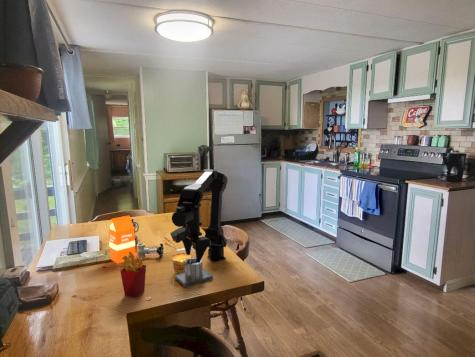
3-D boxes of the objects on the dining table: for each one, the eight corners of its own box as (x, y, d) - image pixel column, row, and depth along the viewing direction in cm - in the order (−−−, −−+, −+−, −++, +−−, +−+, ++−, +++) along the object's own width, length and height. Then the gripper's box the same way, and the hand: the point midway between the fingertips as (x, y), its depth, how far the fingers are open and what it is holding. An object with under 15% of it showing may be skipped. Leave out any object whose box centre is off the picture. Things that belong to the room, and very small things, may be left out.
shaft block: (202, 271, 127) (201, 257, 127) (212, 279, 120) (212, 264, 119) (175, 278, 121) (174, 264, 120) (184, 287, 113) (184, 272, 112)
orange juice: (136, 258, 142) (133, 216, 139) (117, 263, 135) (115, 220, 133) (127, 253, 147) (125, 213, 145) (110, 259, 141) (107, 217, 138)
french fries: (148, 290, 111) (146, 251, 110) (135, 301, 103) (133, 260, 102) (126, 287, 113) (124, 249, 112) (113, 298, 105) (110, 257, 104)
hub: (197, 270, 125) (197, 256, 124) (205, 276, 119) (205, 261, 118) (182, 274, 121) (182, 260, 120) (189, 280, 115) (189, 266, 115)
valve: (135, 260, 139) (161, 259, 140) (134, 247, 138) (160, 246, 139) (138, 255, 146) (163, 254, 146) (138, 242, 145) (163, 241, 145)
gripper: (163, 217, 120) (164, 255, 122) (183, 229, 105) (184, 271, 107) (189, 214, 126) (190, 249, 128) (211, 224, 111) (211, 264, 113)
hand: (193, 258), depth 119 cm, fingers open, 9 cm apart
